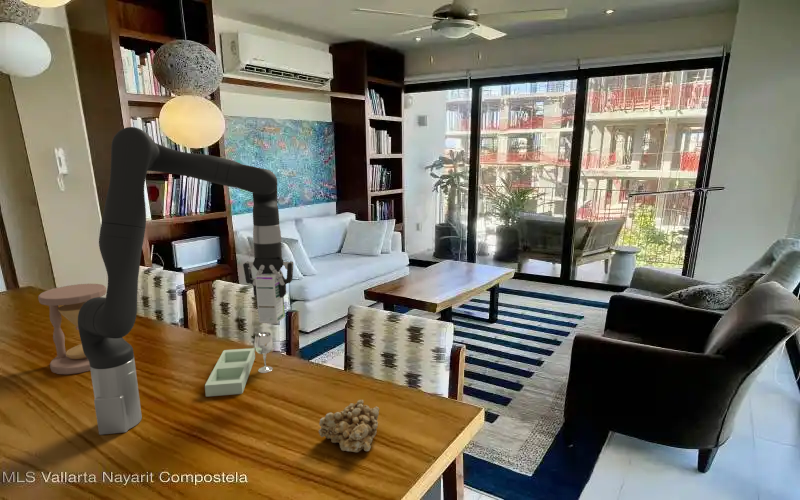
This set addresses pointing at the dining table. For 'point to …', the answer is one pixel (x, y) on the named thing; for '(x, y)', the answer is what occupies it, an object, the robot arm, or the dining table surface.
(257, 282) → the syrup box
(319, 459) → the dining table surface
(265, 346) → the wineglass
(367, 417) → the mineral formation
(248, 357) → the tray
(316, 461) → the dining table surface
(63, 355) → the hourglass
